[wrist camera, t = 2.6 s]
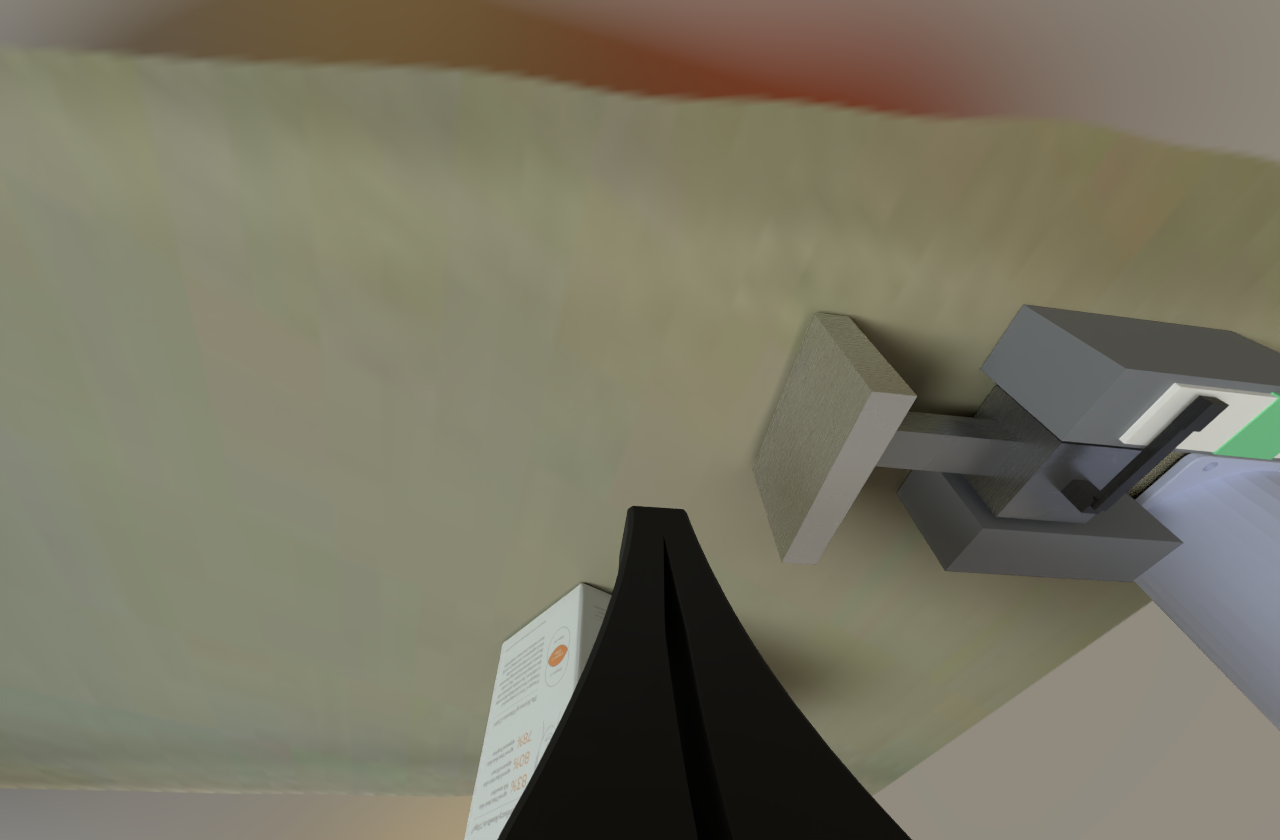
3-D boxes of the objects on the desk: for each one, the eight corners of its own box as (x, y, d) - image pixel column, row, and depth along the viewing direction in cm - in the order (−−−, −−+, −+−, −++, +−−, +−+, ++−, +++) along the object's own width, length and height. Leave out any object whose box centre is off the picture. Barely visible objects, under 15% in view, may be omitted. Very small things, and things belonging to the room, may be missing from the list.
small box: (586, 670, 31) (568, 983, 20) (500, 641, 28) (429, 982, 18) (672, 618, 27) (702, 966, 17) (582, 578, 24) (553, 962, 14)
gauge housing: (1231, 331, 16) (1387, 402, 13) (1057, 505, 22) (1136, 587, 18) (1023, 304, 16) (1133, 373, 12) (896, 493, 21) (948, 576, 18)
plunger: (1131, 330, 16) (1278, 410, 12) (995, 488, 21) (1074, 580, 17) (821, 291, 15) (885, 368, 11) (752, 469, 19) (782, 563, 16)
